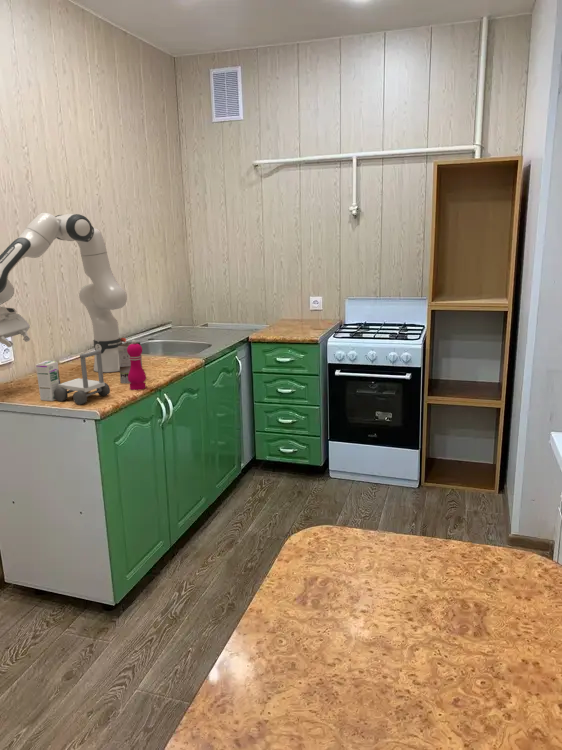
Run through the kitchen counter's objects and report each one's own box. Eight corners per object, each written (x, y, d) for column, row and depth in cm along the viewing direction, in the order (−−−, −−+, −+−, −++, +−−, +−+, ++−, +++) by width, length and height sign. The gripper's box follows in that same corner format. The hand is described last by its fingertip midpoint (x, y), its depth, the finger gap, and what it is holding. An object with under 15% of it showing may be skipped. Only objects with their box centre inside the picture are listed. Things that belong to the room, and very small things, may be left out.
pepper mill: (131, 385, 241) (127, 338, 236) (148, 385, 241) (145, 338, 236) (126, 390, 234) (122, 341, 229) (144, 390, 234) (140, 341, 229)
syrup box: (52, 401, 222) (48, 364, 218) (39, 400, 223) (35, 363, 220) (62, 397, 227) (58, 360, 223) (49, 396, 229) (45, 360, 225)
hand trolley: (82, 391, 234) (77, 345, 230) (110, 395, 228) (106, 348, 223) (54, 400, 222) (49, 352, 218) (83, 405, 216) (78, 356, 211)
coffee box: (134, 383, 244) (131, 346, 240) (120, 383, 245) (116, 345, 241) (143, 378, 253) (140, 341, 249) (130, 377, 254) (126, 341, 250)
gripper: (-23, 317, 215) (3, 343, 215) (17, 307, 234) (41, 332, 233) (-30, 328, 218) (-4, 355, 217) (10, 318, 236) (33, 342, 236)
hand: (19, 343), depth 226 cm, fingers open, 8 cm apart
